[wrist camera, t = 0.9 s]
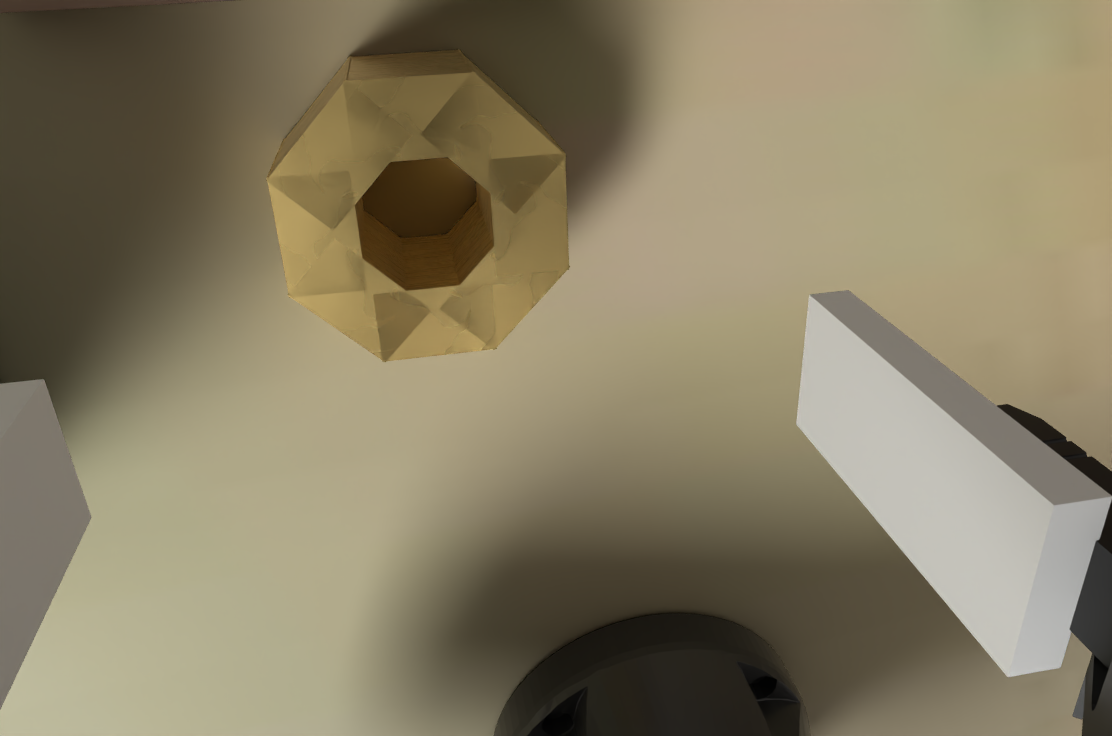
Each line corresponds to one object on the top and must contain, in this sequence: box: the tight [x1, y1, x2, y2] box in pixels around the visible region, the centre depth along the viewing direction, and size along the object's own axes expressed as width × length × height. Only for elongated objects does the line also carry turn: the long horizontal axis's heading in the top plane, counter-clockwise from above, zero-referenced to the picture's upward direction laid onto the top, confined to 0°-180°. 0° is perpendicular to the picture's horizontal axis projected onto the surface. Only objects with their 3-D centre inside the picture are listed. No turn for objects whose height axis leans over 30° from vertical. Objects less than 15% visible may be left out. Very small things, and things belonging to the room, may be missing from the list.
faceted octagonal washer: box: [266, 49, 570, 362], centre depth 27 cm, size 8×8×5 cm
